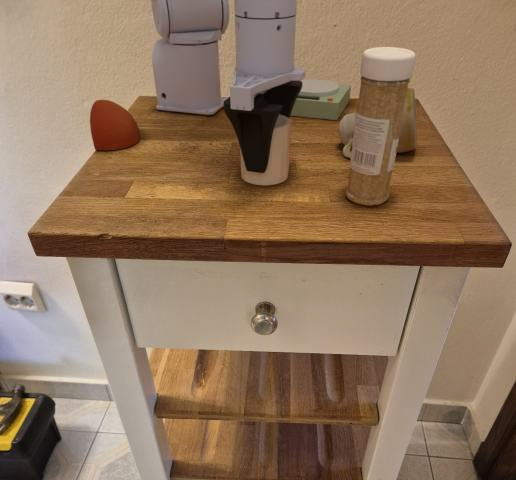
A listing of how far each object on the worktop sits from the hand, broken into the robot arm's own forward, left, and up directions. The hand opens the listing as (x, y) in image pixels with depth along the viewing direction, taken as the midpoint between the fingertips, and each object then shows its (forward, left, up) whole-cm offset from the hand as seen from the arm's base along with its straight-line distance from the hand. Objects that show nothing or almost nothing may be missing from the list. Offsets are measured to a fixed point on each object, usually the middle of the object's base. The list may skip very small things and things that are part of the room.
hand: (264, 161), depth 53 cm
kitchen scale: (-1, +27, -2) cm, 27 cm away
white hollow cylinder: (0, 0, -2) cm, 2 cm away
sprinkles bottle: (+12, -2, -2) cm, 12 cm away
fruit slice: (-20, +6, +2) cm, 21 cm away
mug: (+11, +12, -2) cm, 16 cm away
